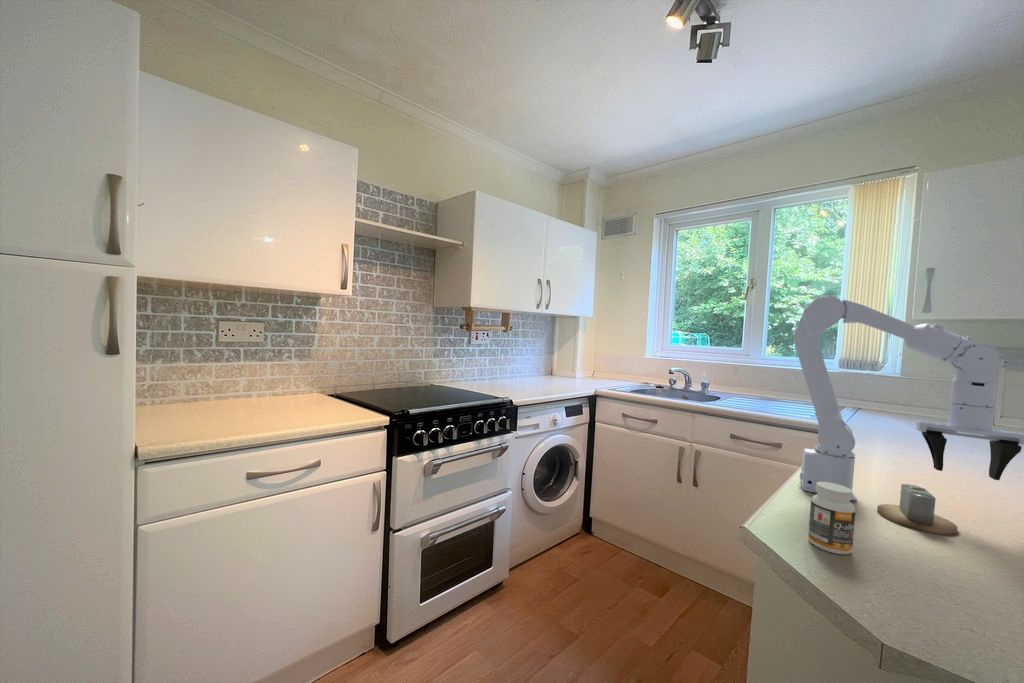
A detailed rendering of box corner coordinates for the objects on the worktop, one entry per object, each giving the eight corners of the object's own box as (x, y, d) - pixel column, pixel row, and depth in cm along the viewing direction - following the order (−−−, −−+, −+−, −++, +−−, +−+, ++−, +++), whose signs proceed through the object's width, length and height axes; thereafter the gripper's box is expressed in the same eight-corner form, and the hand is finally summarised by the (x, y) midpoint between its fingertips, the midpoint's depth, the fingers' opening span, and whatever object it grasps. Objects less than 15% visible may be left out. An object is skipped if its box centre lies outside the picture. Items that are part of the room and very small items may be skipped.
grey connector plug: (936, 527, 74) (938, 500, 74) (910, 522, 76) (912, 495, 76) (916, 507, 83) (918, 483, 83) (893, 502, 85) (896, 479, 85)
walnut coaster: (884, 522, 77) (885, 518, 77) (871, 503, 86) (871, 499, 86) (968, 541, 71) (968, 536, 71) (944, 518, 80) (944, 514, 80)
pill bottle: (840, 559, 63) (846, 496, 62) (800, 541, 68) (805, 482, 67) (859, 551, 65) (864, 491, 65) (818, 534, 70) (823, 478, 70)
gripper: (927, 402, 79) (921, 470, 80) (1040, 413, 72) (1033, 489, 72) (915, 397, 85) (909, 461, 86) (1019, 408, 78) (1012, 478, 78)
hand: (965, 473), depth 79 cm, fingers open, 7 cm apart
